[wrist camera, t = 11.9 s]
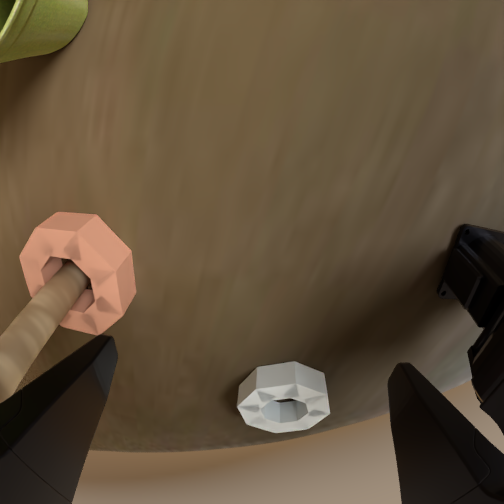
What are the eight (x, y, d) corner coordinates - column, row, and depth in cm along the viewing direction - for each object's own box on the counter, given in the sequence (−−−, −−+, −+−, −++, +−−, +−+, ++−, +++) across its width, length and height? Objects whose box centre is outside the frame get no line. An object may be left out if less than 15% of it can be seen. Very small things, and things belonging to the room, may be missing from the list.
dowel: (100, 260, 23) (0, 396, 11) (94, 284, 24) (7, 415, 12) (74, 246, 23) (-34, 369, 10) (69, 270, 24) (-26, 390, 11)
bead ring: (128, 217, 21) (110, 235, 19) (140, 318, 26) (128, 341, 23) (33, 210, 21) (12, 225, 19) (54, 301, 26) (39, 320, 23)
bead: (321, 356, 26) (324, 378, 24) (329, 405, 30) (331, 425, 28) (231, 370, 28) (228, 391, 26) (254, 415, 31) (253, 435, 29)
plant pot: (-2, 48, 15) (-82, 56, 7) (59, -50, 11) (-12, -77, 3) (60, 96, 17) (-30, 114, 9) (138, -17, 13) (66, -61, 6)
